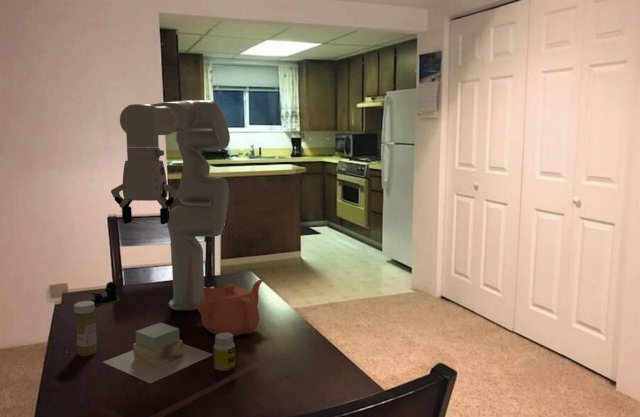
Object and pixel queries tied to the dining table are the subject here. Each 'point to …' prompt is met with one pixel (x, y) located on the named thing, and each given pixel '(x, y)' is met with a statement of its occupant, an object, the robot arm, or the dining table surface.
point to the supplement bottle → (224, 352)
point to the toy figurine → (107, 299)
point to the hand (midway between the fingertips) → (146, 223)
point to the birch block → (158, 354)
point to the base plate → (152, 374)
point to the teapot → (230, 309)
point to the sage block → (157, 336)
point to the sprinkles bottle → (85, 328)
